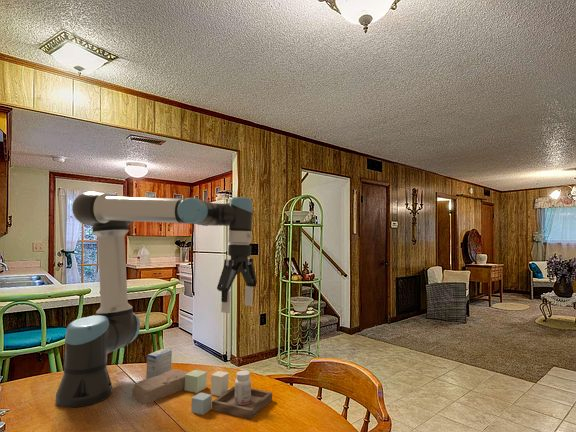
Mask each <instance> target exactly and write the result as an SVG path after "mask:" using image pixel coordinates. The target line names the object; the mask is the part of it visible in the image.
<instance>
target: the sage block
mask: <svg viewBox="0 0 576 432" xmlns="http://www.w3.org/2000/svg"><path fill="white" fill-rule="evenodd" d="M207 380H208V372H207V371H205V370H199V369H194V370H192V371H189V372H187V374H185V388H184V391H187V392H191V393H195V394H199V393H200V392H201V391H203V390H205V389H206V388H207V387H208V385H207V383H208V381H207Z"/></svg>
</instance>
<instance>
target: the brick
mask: <svg viewBox="0 0 576 432" xmlns="http://www.w3.org/2000/svg"><path fill="white" fill-rule="evenodd" d="M187 373H188V372H187V371H184V370H180V369H177V368H174V369H171V370H170V371H167V372H165V373H163V374H161V375H158V376H155V377H152V378H148V379H146V378H145V379H143V380H140V381H137V382H134V383H133V387H132V393H131V395H132V398H133V399H135V400H138V401H139V402H140V403H141V404H150V403H152V402H155V401H157V400H158V399H162V398H164V397H167V396H169V395H172V394H175V393H177V392H180V391H183V390H185V374H187Z"/></svg>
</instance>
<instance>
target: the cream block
mask: <svg viewBox="0 0 576 432" xmlns="http://www.w3.org/2000/svg"><path fill="white" fill-rule="evenodd" d="M229 376H230V374H229V372H227V371H221V370H217V371H215V372H213V373H212V374H211V375H210V395H212V396H217V397H219V396H221V395H222V394H224V393H225V392H227V391H228V390H229V378H230V377H229Z"/></svg>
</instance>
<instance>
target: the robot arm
mask: <svg viewBox="0 0 576 432" xmlns="http://www.w3.org/2000/svg"><path fill="white" fill-rule="evenodd" d="M71 207H72V208H71V211H72V214H73V216H74V218H75V219H76V220H77V221H78V222H79V223H81V224H83V225H84V226H85V225H86V226H90V227H92V229H91V230H92V234H93V235H95V237H96V238H97V249H98V250H97V253H98V276H99V299H100V307H99V308H98V309H97V310H96V311H95V315H90V316H86V317H85V316H84V317H80V318H77V319H75V320H72V321H71V322H70V323H69V324H68V325H67V327H66V330H65V336H64V362H63V375H62V377H61V380H60V383H59V386H58V389H57V391H56V393H55V400H54V401H55V404H56V405H57V406H59V407H63V408H80V407H85V406H89V405H90V406H91V405H93V404H97V403H99V402H102V401H104V400H106V399H107V398H109V397H110V396H111V395H112V393H113V391H112V390H113V384H112V381H111V377H110V374H109V371H108V368H107V367H108V354H110V353H112V352H114V351H116V350H119V349H122V348H124V347H126V346H128V345H129V344H131V343H132V342H134V340H135V339H136V338H137V337H138V335H139V333H140V328H141V321H140V319H139V317H138V316H137V314H136V313H135V312H134V309H133V306H132V305H131V304H130V303H129V302H128V281H127V280H128V279H127V266H126V265H127V263H126V262H127V261H126V241H125V236H126V235H127V234H128V232H129V231H130V230H129V227H130V226H129V225H131V223H132V222H143V223H144V222H147V223H169V224H170V223H171V224H189V225H198V226H206V227H208V226H211V227H212V226H221V227H222V226H225V227H228V241H227V242H228V243H229V245H228V246H227V248H228V249H227V250H228V252H227V255H228V256H230V259H229V258H225V259H224V263H223V268H222V270H221V274H220V276H219V281H218V282H217V286H216V289H217V290H218V292H221V299H220V300H221V301H220V302H221V305H220V307H221V310H220V312H221V313H225V314H230V313H231V295H232V294H231V293H232V292H231V291H230V289H231V288H232V285H233V283H234V281H235V279H236V276H237V275H239V274H241V276H242V277H243V280H244V282H245V285H246V286H244V306H245V307H246V306H247V307H253V300H254V299H253V298H254V296H253V295H254V287H257V284H258V279H257V277H256V271H255V267H254V258H253V257H250V256H252V245H251V243H252V237H253V235H252V229H253V228H252V227H253V213H254V211H253V200H252V199H251V198H249V197H245V196H244V197H243V196H236V197H235V196H234V197H231V198H230V200H229V203H215V202H214V203H213V202H210V201H207V200H202V199H199V198H198V197H187V198H173V197H172V198H171V197H168V198H167V197H137V196H135V197H133V196H132V197H131V196H130V197H129V196H120V195H118V194H109V193H106V192H99V191H85V192H82V193H80V194H79V195H77V197H76V198H75V199H74V200H73V203H72V206H71Z"/></svg>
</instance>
